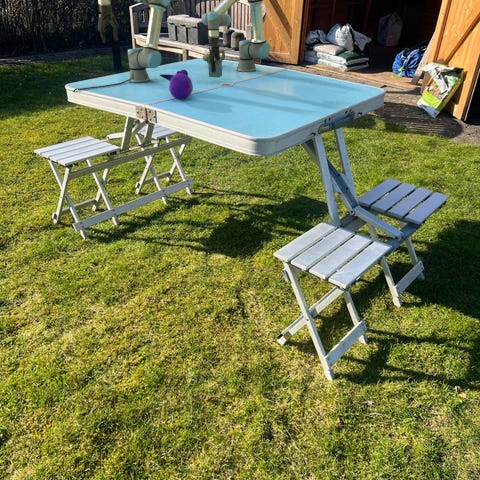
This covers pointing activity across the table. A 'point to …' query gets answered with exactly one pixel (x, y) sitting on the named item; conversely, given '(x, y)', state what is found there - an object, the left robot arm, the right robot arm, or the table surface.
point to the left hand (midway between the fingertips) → (110, 41)
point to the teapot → (206, 57)
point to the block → (216, 68)
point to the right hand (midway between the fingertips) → (215, 71)
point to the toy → (179, 84)
